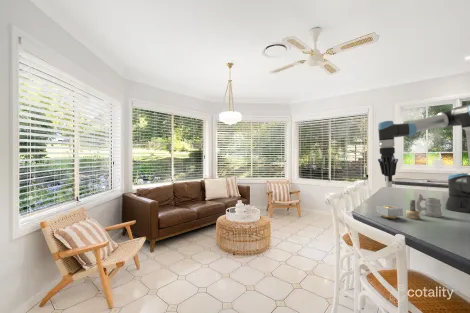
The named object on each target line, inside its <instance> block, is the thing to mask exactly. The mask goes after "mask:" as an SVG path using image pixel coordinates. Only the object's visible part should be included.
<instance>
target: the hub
mask: <svg viewBox="0 0 470 313" xmlns="http://www.w3.org/2000/svg"><path fill="white" fill-rule="evenodd" d="M386 208H392V207H386ZM381 218H382V219H387V220H397V218H398V216H385V215H382V214H381Z"/></svg>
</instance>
